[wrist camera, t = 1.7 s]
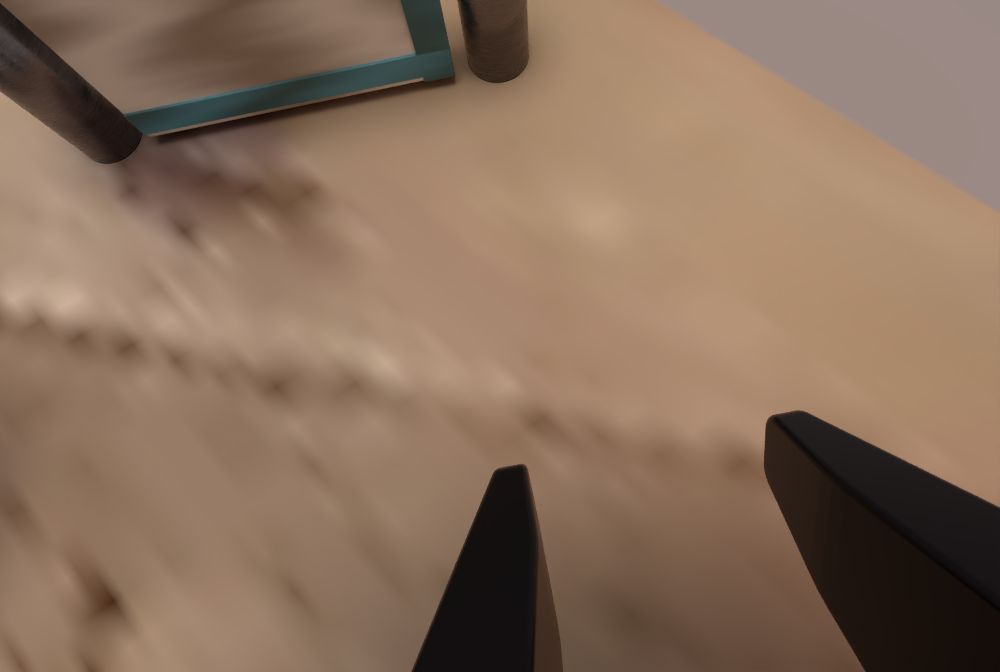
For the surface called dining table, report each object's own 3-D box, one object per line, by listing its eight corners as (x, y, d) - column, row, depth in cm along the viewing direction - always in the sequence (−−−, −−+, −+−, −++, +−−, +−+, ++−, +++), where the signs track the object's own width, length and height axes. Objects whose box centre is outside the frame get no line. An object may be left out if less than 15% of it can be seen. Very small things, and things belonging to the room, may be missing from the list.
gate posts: (83, 168, 24) (-132, 17, 17) (82, 115, 25) (-126, -54, 17) (534, 75, 24) (529, -124, 16) (522, 24, 25) (512, -192, 17)
